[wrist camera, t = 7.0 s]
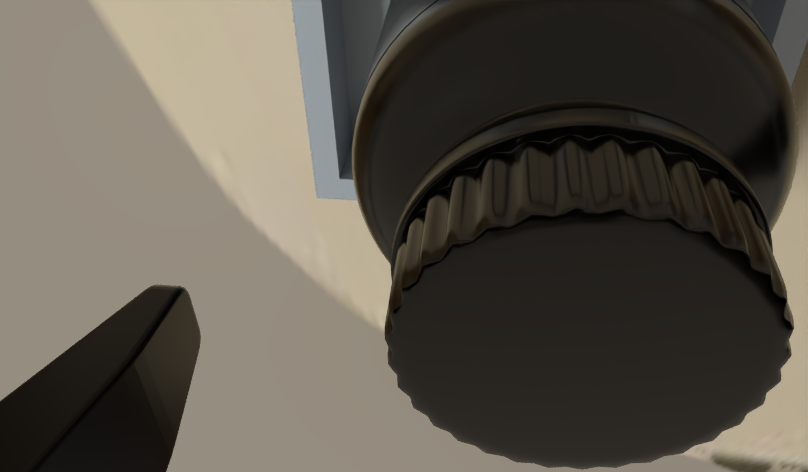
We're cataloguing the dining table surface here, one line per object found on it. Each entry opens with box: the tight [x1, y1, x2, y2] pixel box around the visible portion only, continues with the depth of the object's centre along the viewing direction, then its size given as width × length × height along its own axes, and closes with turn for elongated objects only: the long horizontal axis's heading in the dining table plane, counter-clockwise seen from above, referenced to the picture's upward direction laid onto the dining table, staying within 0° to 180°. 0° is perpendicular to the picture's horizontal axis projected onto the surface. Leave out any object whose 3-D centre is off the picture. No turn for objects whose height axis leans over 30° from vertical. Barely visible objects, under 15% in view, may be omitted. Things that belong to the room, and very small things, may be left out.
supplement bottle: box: [352, 0, 798, 469], centre depth 13 cm, size 7×7×12 cm
